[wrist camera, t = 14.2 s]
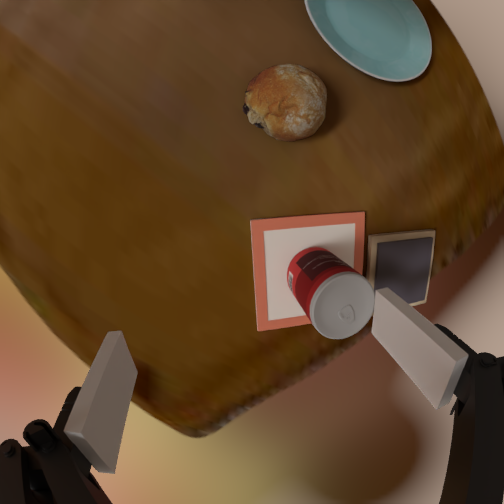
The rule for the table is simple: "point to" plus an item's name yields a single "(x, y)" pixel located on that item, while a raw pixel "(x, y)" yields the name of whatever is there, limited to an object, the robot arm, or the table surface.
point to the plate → (375, 35)
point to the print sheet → (286, 247)
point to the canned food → (330, 292)
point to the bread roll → (286, 102)
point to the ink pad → (401, 263)
